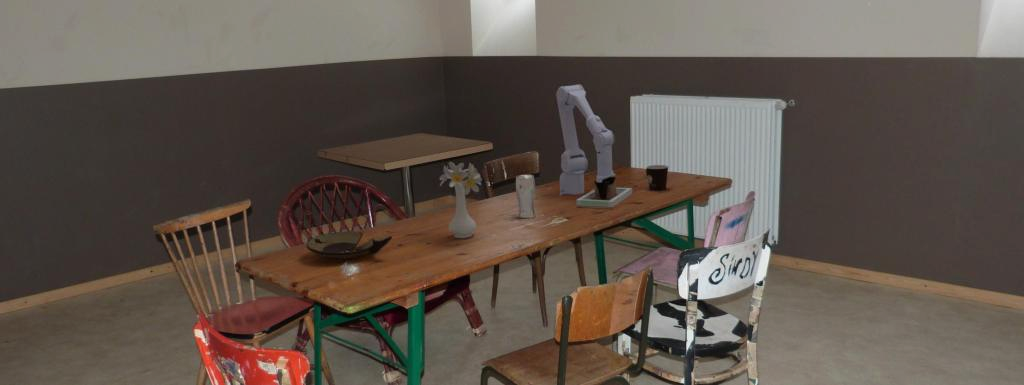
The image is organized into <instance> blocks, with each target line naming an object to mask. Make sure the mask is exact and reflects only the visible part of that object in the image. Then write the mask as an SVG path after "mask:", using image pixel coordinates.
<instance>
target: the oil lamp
mask: <svg viewBox="0 0 1024 385" xmlns="http://www.w3.org/2000/svg"><path fill="white" fill-rule="evenodd" d="M362 237H363V233H362V232H360V231H337V232H333V233H332V232H331V233H325V234H319V235H315V237H311V238H308V239H307V242H306V248H307V249H308V250H309V251H311V253H314V254H317V255H319V256H323V257H325V258H330V259H337V260H340V259H341V260H344V258H347V259H352V258H353V257H354V258H357V257H360V256H364V255H367V254H369V255H375V254H378V252H380V251H381V250H382V249H383V247H385V246H386V245H387V244H388V243H389V242H390V241H391V240H392V239H393V236H392V235H388V236H386V237H385V238H383V237H381V236H376V237H373V238H371V239H369V240H368V241H366V242H364V243H362V244H361V245H359V243H360V241H361V239H362ZM351 250H352V251H351ZM355 250H356V251H355ZM346 251H350V252H346ZM342 252H343V253H342Z"/></svg>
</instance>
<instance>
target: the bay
mask: <svg viewBox="0 0 1024 385" xmlns="http://www.w3.org/2000/svg"><path fill="white" fill-rule="evenodd" d="M632 194H633V188H632V187H616V197H614V198H613V199H611V200H610V201H608V200H595V188H594V189H592V190H590V191H589V192H587V193H586V194H584V195H582V196H581V197H579V198H577V199H576V208H577V209H589V207H591V209H594V210H595V209H597V210H608V208H609V210H614V208H615V206H616V205H618V204H619V203H621V202H622V201H624V200H625V199H626V198H629V197H630V196H631V195H632ZM613 207H614V208H613Z"/></svg>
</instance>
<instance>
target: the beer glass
mask: <svg viewBox="0 0 1024 385" xmlns="http://www.w3.org/2000/svg"><path fill="white" fill-rule="evenodd" d="M515 192H516V197H517V198H516V199H517V202H518V206H519V207H518V208H519V209H518V218H519V219H532V218H534V217H536V213H535V209H534V208H535V207H534V206H535V203H534V202H535V196H536V182H535V176H534V174H520V175H516V177H515Z"/></svg>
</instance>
